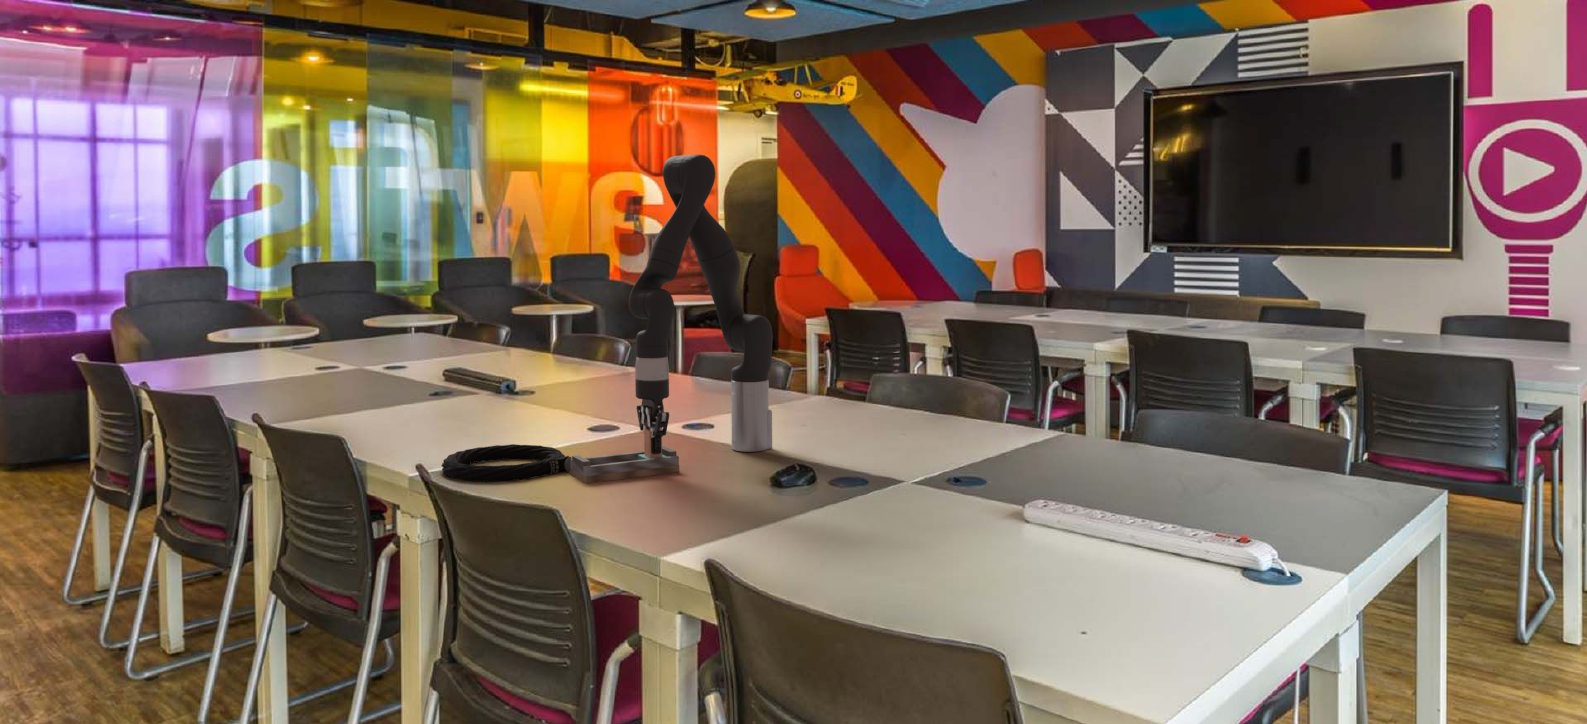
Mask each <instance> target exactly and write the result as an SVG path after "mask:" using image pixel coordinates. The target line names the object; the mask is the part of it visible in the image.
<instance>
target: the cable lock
mask: <svg viewBox="0 0 1587 724" xmlns="http://www.w3.org/2000/svg"><path fill="white" fill-rule="evenodd" d="M508 459H509V460H510V459H511V460H512V459H514V460H524V459H525V460H533V462H524V463H518V464H502V465H476V464H475V465H474V464H473V463H481V462H487V461H495V460H498V461H499V460H508ZM570 459H572V456H569V455H565V454H564V453H562V451H561V450H560V449H557V448H554V447H552V446H551V447H550V446H544V445H533V444H532V445H531V444H515V443H513V444H504V445H503V444H502V445H499V444H498V445H497V444H495V445H490V446H483V447H479V446H477V447H474V448H469V449H465V450H460V451H459V450H458V451H456V452H454V453H451V454H449V455H448V456H447V457H446V458H444V459H443V461H442V463H441V465H440V466H441V467H442V469H441V471H442V472H443V473H444V474H445V475H446V476H447V477H451V478H453V479H455V480H463V481H468V482H506V481H507V482H509V481H518V480H519V481H520V480H526V479H533V478H539V477H540V478H541V477H543V476H546V475H549V476H551V475H555V474H564V473H570V468H571V463H570ZM534 460H536V461H534Z"/></svg>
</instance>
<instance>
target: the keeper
mask: <svg viewBox="0 0 1587 724" xmlns="http://www.w3.org/2000/svg"><path fill="white" fill-rule="evenodd" d="M654 430H655V429H654ZM643 437H644V438H643V441H644V443H643V444H644V447H643V449H644V450H643V451H645V454H640V455H638V460H643V459H651V458H660V457H667V456H665V455H663V454H662V446H663V437H661V453H660V454H652V453H651V431H650V429H645V430H644V434H643Z"/></svg>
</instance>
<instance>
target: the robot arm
mask: <svg viewBox="0 0 1587 724" xmlns="http://www.w3.org/2000/svg"><path fill="white" fill-rule="evenodd" d="M663 164H664V165H663V168H662V179H663V182H664V186H665V188H666V191H667V192H668V195H669V196H670V199H671V201H672V202H673V205H674V207H675V210H674V212H673V213H672V214H671V216H670V217H669V219H668V220H667V221H666V223H665V224H664V225H663V227H662V228H661V230H660V231H659V232H658V233H657V235H656V237H655V239H654V241H653V244H652V247H651V250H650V252H649V255H648V258H647V262H646V266H645V268H644V269H643V271H642V272H641V274H640V276H639V277H638V279H637V280H636V282H635V284H634V285H633V286H632V289H631V291H630V294H629V296H628V297H629V298H628V309H629V312H630V313H631V315H632V316H633V317H634V318H636V319H641V320H648V322H647V323H648V324H647V326H646V329H644V330H640V331H639V332H638V333H637V334H636V337H635V357H636V358H635V366H634V367H635V368H634V372H635V374H634V376H635V377H634V378H635V380H634V381H635V385H634V386H635V397H636V399H639V400H641V405H636V412H637V413H636V414H637V420H638V425H639V430H640V432H642V434H643V435H644V430H645V429H650V431H651V453H652V454H660V453H661V437H662V438H663V437H664V436H666V435H667V432H668V431H667V430H668V426H669V425H668V424H669V419H670V412H668V411H667V412H666V411H665V407H664V402H663V400H664V399H667V398H669V396H670V369H669V368H670V367H669V366H670V365H669V359H668V338H669V334H670V330H671V326H672V322H673V317H674V313H675V302H674V298H673V296H672V294H671V293H670V292H669V291H668V290H667V289H664V288H662V287H663V285H665V284H668V283H671V282H673V281H674V280H675V279H676V276H677V274H678V271H679V268H680V264H681V261H682V257H683V255H684V251H685V248H686V245H687V243H688V239H689V241H690V242H691V245H692V247H693V250H694V252H695V253H694V254H695V257H696V258H697V262H698V264H699V267H700V269H701V270H700V271H701V272H702V274H703V277H704V278H705V281H706V283H707V287H708V290H709V292H710V295H711V298H712V301H713V304H714V307H715V311H716V314H717V319H718V322H719V326H720V329H721V332H722V336H723V338H724V341H725V343H726V345H727V346H728V347H729V348H730V349H731V350H733V351H737V352H740V353H742V352H743V360H742V362H741V363H740V364H738V365H737V366H734V367H732V368H731V371H730V393H731V394H730V396H731V397H730V399H731V400H730V401H731V407H730V408H731V413H730V414H731V416H730V417H731V419H730V420H731V449H732V450H734V451H738V452H743V453H744V452H746V453H747V452H749V453H751V452H754V453H755V452H762V451H767V450H770V449H773V410H772V409H769V407H770V406H769V405H770V402H769V400H770V397H769V394H770V393H769V385H770V384H769V376H770V375H769V374H770V371H771V367H772V364H773V363H772V362H773V360H772V358H773V339H774V338H773V329H772V324H771V322H770V320H769V318H767V317H765V316H763V315H760V314H746V313H745V311H744V309H743V307H742V305H741V302H740V299H739V295H738V286H739V285H738V284H739V279H740V274H741V273H740V272H741V263H740V262H741V261H740V258H739V256H738V253H737V251H736V248H735V245H734V243H733V240H732V238H731V236H730V235H729V234H728V232H727V231H726V230H725V228H723V226H722V224H720V223H719V222H718V221H717V220H716V219H715V217H714V216H713V215H712V214H711V213H710V212H709V211H708V209H707V208H706V206H705V204H706V202H707V199H708V198H709V196H710V194H711V191H712V189H713V186H714V184H715V181H716V168H715V165H714V162H713V161H712V159H711V158H710V157H708V156H706V155H705V154H686V155H675V156H670V157H669V158H668V159H667V160H666V161H665V163H663ZM654 429H655V430H654Z"/></svg>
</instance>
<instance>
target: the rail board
mask: <svg viewBox="0 0 1587 724" xmlns="http://www.w3.org/2000/svg"><path fill="white" fill-rule="evenodd" d="M640 454H645V451H644V450H642V451H636V452H635V451H634V452H633V451H632V452H624V453H616V454H607V455H598V456H597V455H596V456H588V457H583V456H581V455H579V454H576V455H572V456H571V458H572V459H570V463H571V468H570V472H569V473H570V476H571V477H574V478H576V479H578V480H579V481H581V482H583V483H584V484H593V483H600V482H608V481H615V480H616V481H618V480H625V479H632V478H642V477H650V476H657V475H665V474H666V475H667V474H674V473H680V457H679V456H678V455H677V450H675V449H671V448H670V447H667V446H664V445H662V454H663V455H665V456H667V457H660V458H651V459H643V460H638V455H640Z"/></svg>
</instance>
